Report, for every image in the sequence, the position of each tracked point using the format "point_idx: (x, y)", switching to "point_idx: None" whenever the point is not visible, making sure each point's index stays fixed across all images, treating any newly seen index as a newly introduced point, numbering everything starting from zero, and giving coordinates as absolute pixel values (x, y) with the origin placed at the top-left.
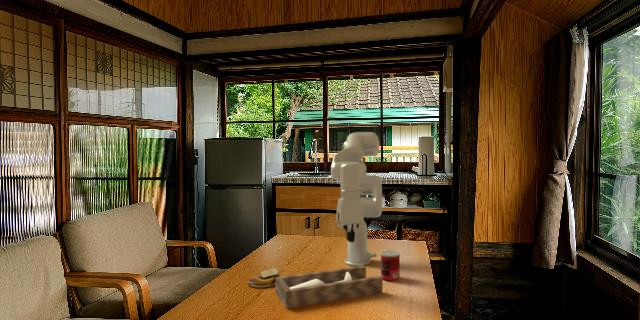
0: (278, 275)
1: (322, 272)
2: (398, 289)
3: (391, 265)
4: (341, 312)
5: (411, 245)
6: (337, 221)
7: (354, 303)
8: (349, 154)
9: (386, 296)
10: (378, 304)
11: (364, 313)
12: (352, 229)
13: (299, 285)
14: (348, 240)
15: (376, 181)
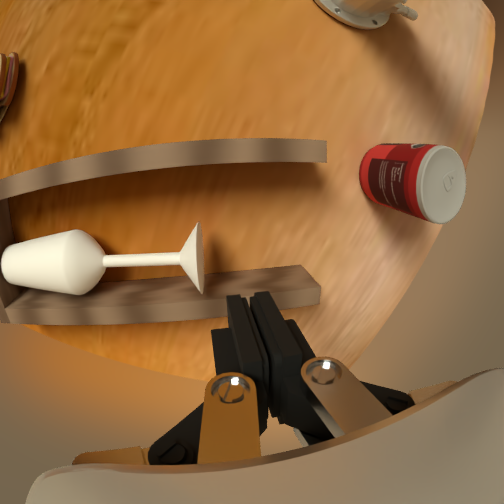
0: (1, 96)
1: (103, 171)
2: (354, 265)
3: (407, 213)
4: (141, 359)
5: (482, 19)
6: (56, 500)
7: (188, 325)
8: None
9: None
10: None
11: (195, 375)
12: (296, 424)
13: (22, 276)
14: (228, 324)
15: None
